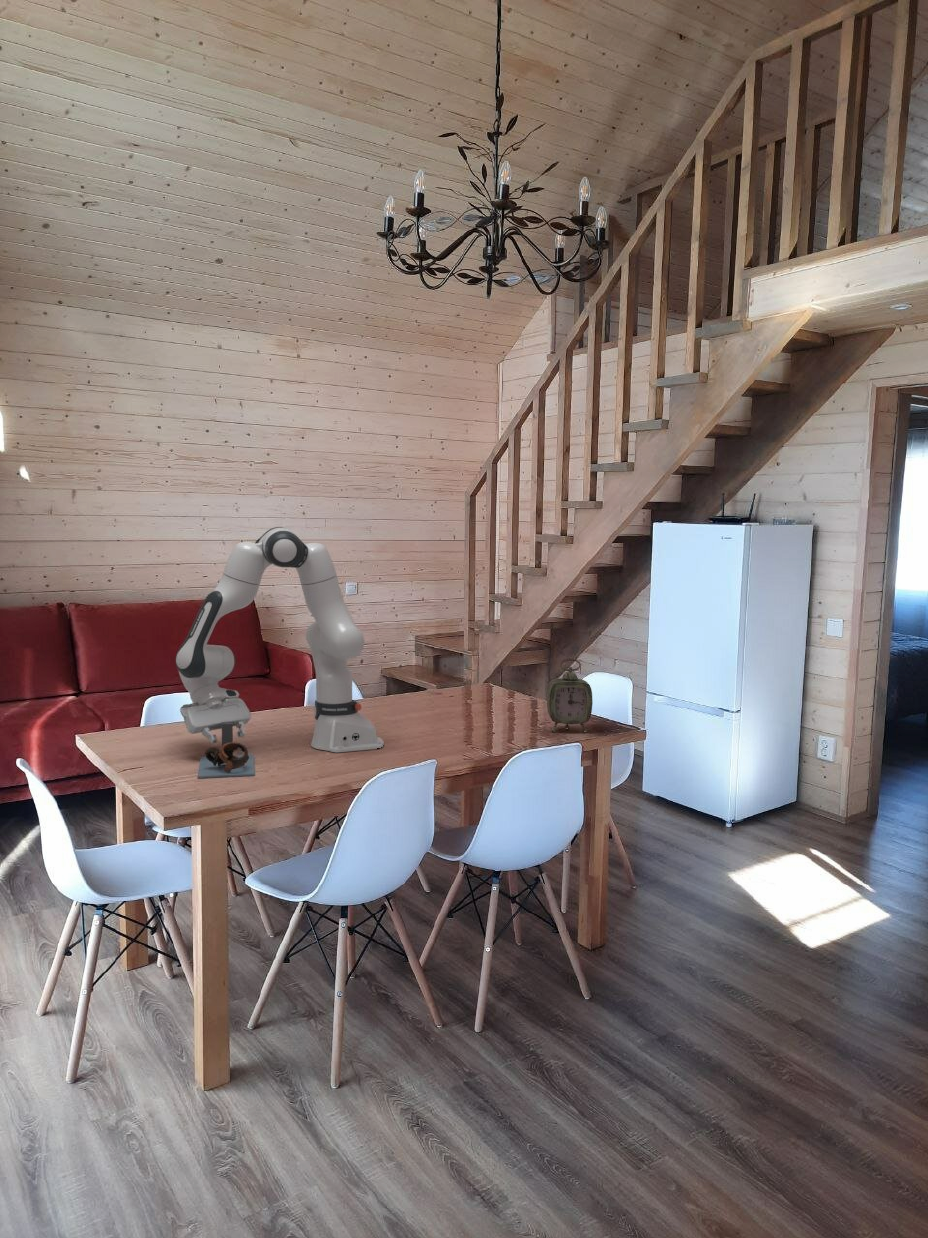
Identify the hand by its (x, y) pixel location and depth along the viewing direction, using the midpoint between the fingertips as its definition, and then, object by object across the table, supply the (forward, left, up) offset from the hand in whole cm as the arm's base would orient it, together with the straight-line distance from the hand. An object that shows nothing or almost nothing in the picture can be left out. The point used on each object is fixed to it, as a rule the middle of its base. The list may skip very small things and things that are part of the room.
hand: (228, 738), depth 262 cm
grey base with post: (0, +9, -6) cm, 11 cm away
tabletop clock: (-112, -18, -6) cm, 113 cm away
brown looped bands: (0, +13, -5) cm, 14 cm away
